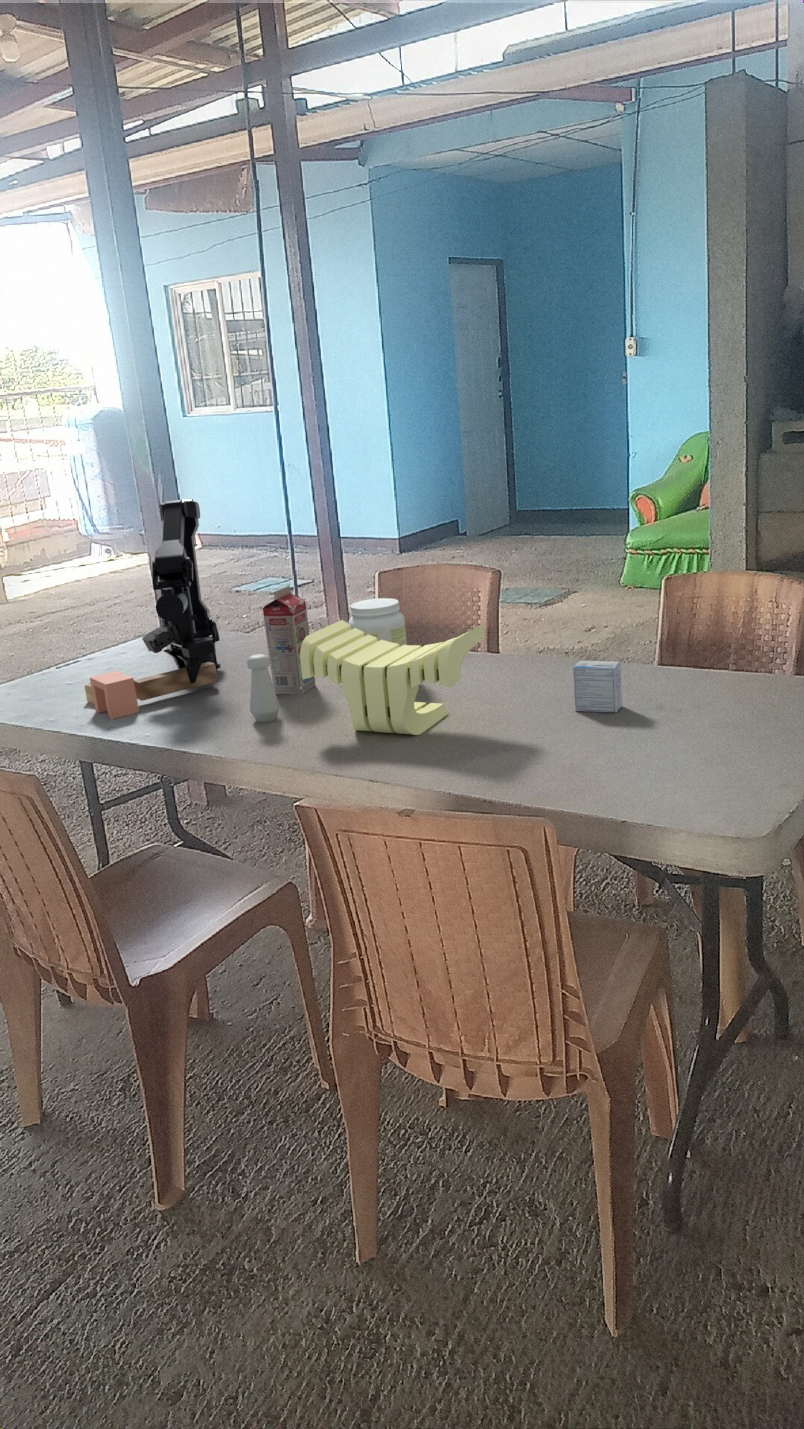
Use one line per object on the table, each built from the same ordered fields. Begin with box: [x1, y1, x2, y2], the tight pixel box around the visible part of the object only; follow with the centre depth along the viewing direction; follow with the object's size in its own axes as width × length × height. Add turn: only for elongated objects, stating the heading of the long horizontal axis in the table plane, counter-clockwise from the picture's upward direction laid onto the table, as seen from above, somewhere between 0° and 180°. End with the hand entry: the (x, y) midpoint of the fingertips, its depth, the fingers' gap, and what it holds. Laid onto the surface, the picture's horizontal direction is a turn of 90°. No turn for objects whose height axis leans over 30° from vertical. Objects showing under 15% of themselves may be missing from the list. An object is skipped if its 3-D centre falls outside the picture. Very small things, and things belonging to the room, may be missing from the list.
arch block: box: [89, 670, 140, 720], centre depth 226 cm, size 6×9×8 cm, turn 36°
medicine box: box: [572, 660, 623, 714], centre depth 198 cm, size 8×4×9 cm, turn 65°
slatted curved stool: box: [300, 619, 485, 736], centre depth 199 cm, size 30×16×18 cm, turn 63°
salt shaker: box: [246, 653, 281, 724], centre depth 210 cm, size 6×6×13 cm
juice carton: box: [262, 585, 316, 695], centre depth 228 cm, size 7×7×22 cm
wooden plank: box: [134, 662, 219, 702], centre depth 234 cm, size 18×3×4 cm, turn 127°
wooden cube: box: [84, 682, 94, 704], centre depth 237 cm, size 4×4×4 cm
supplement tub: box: [347, 597, 408, 647], centre depth 230 cm, size 12×12×17 cm
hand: (189, 681), depth 236 cm, fingers closed on wooden plank, 3 cm apart
